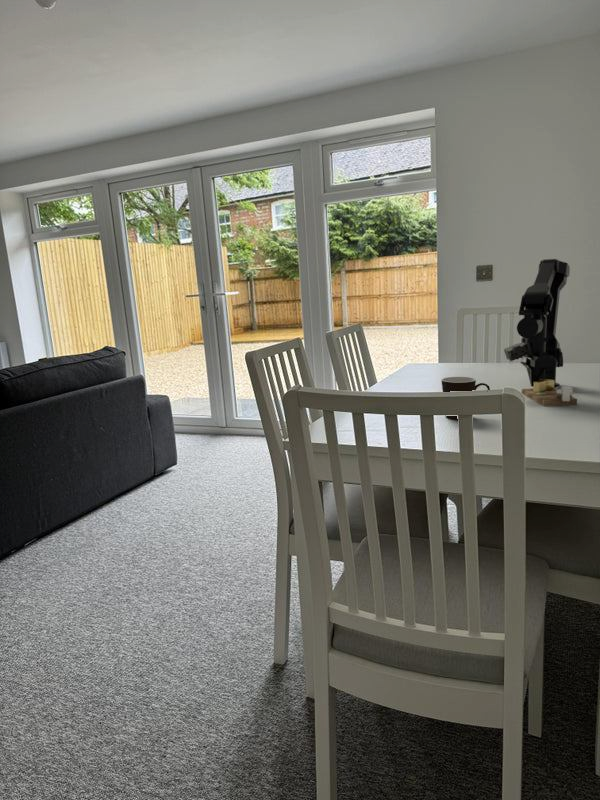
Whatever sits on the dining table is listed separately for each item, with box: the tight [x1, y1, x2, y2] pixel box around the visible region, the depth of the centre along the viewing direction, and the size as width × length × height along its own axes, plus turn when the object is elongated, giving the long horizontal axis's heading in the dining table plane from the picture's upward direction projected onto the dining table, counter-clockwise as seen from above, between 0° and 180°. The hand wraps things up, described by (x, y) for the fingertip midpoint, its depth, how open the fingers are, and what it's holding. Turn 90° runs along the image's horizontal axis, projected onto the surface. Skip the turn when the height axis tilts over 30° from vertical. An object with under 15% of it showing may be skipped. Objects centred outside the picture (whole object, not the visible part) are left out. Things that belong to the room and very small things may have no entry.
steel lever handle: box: [556, 385, 573, 401], centre depth 157 cm, size 8×4×3 cm, turn 160°
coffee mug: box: [440, 376, 491, 421], centre depth 148 cm, size 12×9×10 cm
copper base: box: [521, 387, 578, 407], centre depth 165 cm, size 17×9×2 cm, turn 179°
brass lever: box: [532, 379, 555, 392], centre depth 169 cm, size 8×4×3 cm, turn 129°
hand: (533, 386), depth 171 cm, fingers closed
